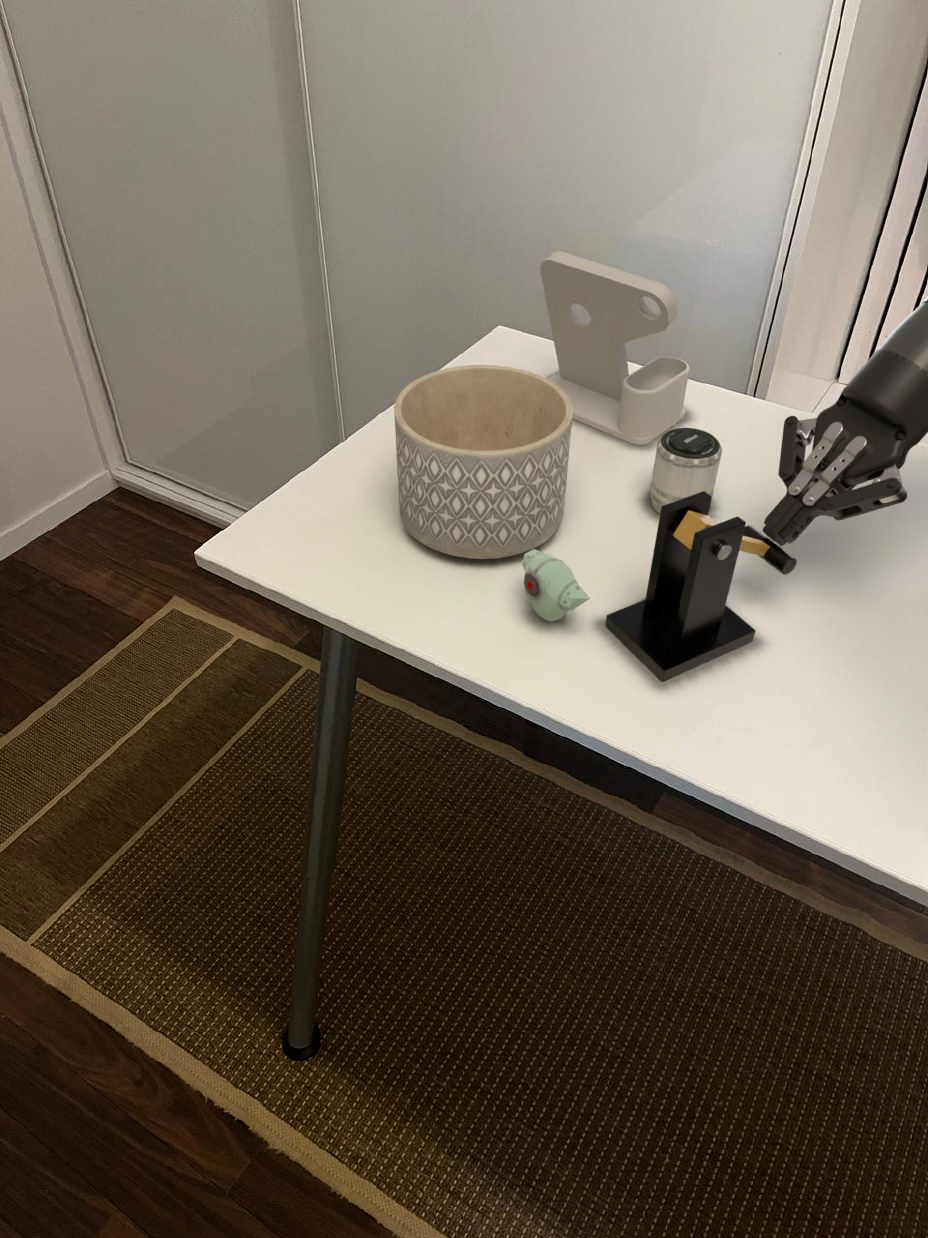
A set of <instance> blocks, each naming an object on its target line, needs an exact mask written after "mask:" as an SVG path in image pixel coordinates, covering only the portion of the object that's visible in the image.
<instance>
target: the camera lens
mask: <svg viewBox="0 0 928 1238" xmlns="http://www.w3.org/2000/svg"><path fill="white" fill-rule="evenodd" d="M656 443H657V444H656V451H655V457H654V464H653V470H652V478H651V482H650V483H651V484H650V498H651V506H652V508H653V509H654V511H655V512H657V513H658V514H659V515H660V512H661V507H662V506H664V505H666V504H669V503H672V502H675V501H677V500H680V499H683V498H686V497H688V496H691V495H694V494H697V493H699V492H702V491H705V492H706V493H708V494H709V495H710V496H712V497H713V496H714V490H715V486H716V481H717V477H718V473H719V469H720V462H721V458H722V453H723V448H722V445H721V443H720V441H719V439H717V438H716V437H715V436H714V435H712V434H711V433H710V432H707V431H705V430H702V429H699V428H693V427H678V428H673V429H670V430H667V431H665V432H664V433H663V435H661V436H660V438H659V439H658V440H657V442H656Z"/></svg>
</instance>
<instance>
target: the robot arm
mask: <svg viewBox="0 0 928 1238" xmlns="http://www.w3.org/2000/svg"><path fill="white" fill-rule="evenodd" d="M927 434H928V295H927V296H926V298H924V300H923V301H922V302H921V303H920V304H919V305H918V306H917V307H916V308H915V310H913V311H912V312H911V313H910V314H909V315H908V316H907V317H905V319H903V320H902V321H901V322H900V323H899V324H898V325H897V327H895V329H893V331H892V332H891V333H890V334H889V336H888V337H887V338H886V339H885V340H884V341H883V343H882V344H881V345H880V346H879V347H878V348H877V350H875V352H874V353H873V354H872V355H871V357H870V358H869V359H868V360H867V361H866V362H865V363H864V365H863V366H862V367H861V368H860V369H859V370H858V371H857V373H856V374H855V375H854V376H853V377H852V378H851V379H850V381H849V382H848V383H847V384H846V385H845V387H844V388H843V389H842V390H841V393H840V395H839V397H838V399H837V400H836V402H834V403H833V404H832V405H830V406H829V407H827V408H824V409H823V410H821V411H820V413H819V414H818V415H817V417H814V418H805V419H798V417H797V416H795V415H789V416H787V417H785V419H784V421H783V428H782V437H781V447H780V456H779V464H778V477H779V478H780V479H781V481H782V483H783V484H784V485H785V487H786V493H785V495H784V496H783V497H782V498H781V500H780V501H779V502H778V503H777V504H776V505H775V506H774V508H773V509H772V510H771V511H770V512H769V514H768V515H766V517H765V519H764V521H763V525H764V527H763V528H762V533H764V535H765V536H766V537H767V538H769V539H770V540H771V541H773V542H774V543H775V544H777V545H778V546H779V547H784V546H785V545H787V544H792V543H794V542H796V541H797V539H799V537H800V536H801V535H802V534H803V533H804V532H805V530H806V529H807V528H808V527H809V526H810V525H811V524H812V522H813V521H814V520H816V518H818V517H820V516H825V517H828V518H829V517H830V518H833V520H835V521H836V522H837V521H838V522H839V521H840V522H841V521H844V520H847V519H851V518H855V517H858V516H861V515H864V514H869V513H872V512H874V511H878V510H881V509H885V508H888V507H892V506H895V505H898V504H902V503H904V502H905V501H906V500H907V499H908V492H907V490H906V489H905V487H904V485H903V481H902V479H901V474H900V469H902V467H904V465H905V463H906V459H907V456H908V453H909V452H910V450H911V449H912V448H914V447H915V446H916V445H918V444H919V443H920V442H921V441H922V440H923V438H925V437H926V435H927ZM811 444H812V448H811V452H810V453H809V454H808V456H807V457H806V449H807V448H806V447H807V446H810V445H811ZM805 457H806V459H805ZM870 481H872V483H870V484H866V485H864V486H860V487H856V486H858V485H861V484H864V483H867V482H870ZM855 487H856V488H855Z"/></svg>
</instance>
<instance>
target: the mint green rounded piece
mask: <svg viewBox="0 0 928 1238" xmlns="http://www.w3.org/2000/svg"><path fill="white" fill-rule="evenodd" d="M521 565H522V568H523V570H524V576H523V577H524V578H523V586H524V592H525V596H526V599H527V601H528V603H529V606H530V607H531V609H533V611H534V612H535V613H536V614H537V615H538V616H539V617H540V618H542V619H543V620H545V621H548V622H555V621H558V620H560V619H562V618H563V617H564V616H565V614H566V613H567V612H570V611H574V610H575V609H576V608H578V607H579V606H581V605H583V604H584V603H586V602H588V601H589V600H590V599H591V596H589V595H588V594H587V592H585V590H584V589H583V588H582V587H581V585H580V584H579V582H578V581H577V579H576V577H575V574H573V571H572V569H571V567H569V566H568V565H567V563H565V561H563V560H562V559H560V558H558V557H555V556H553V555H551V554H547V553H544V552H542V551H540V550H537V549H536V548H533V549H531V550H529V551H526V552H524V555H523V559H522V562H521Z"/></svg>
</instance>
